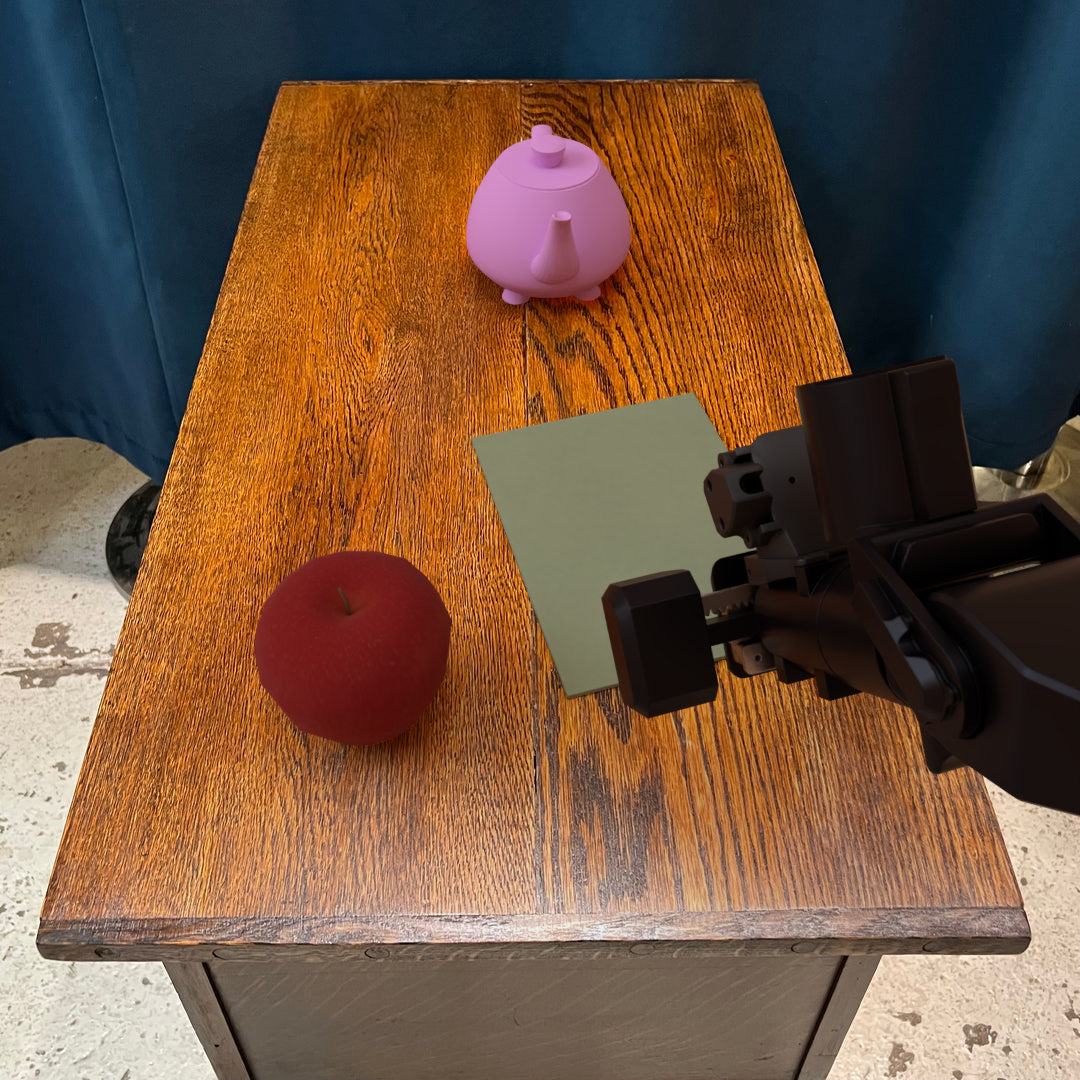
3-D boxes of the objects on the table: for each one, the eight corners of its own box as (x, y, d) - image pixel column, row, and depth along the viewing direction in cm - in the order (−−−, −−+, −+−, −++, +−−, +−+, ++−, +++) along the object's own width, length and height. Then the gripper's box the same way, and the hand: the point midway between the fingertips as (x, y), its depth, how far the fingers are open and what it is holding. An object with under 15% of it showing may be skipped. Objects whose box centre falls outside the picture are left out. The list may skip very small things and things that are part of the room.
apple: (303, 812, 61) (262, 701, 52) (261, 669, 68) (218, 548, 59) (484, 747, 64) (474, 631, 55) (427, 615, 71) (410, 492, 62)
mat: (832, 631, 70) (833, 627, 69) (567, 699, 66) (567, 696, 66) (692, 395, 85) (693, 391, 84) (471, 441, 81) (471, 437, 81)
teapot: (645, 346, 89) (657, 212, 79) (473, 355, 88) (465, 221, 79) (614, 212, 102) (621, 83, 92) (464, 220, 101) (456, 91, 92)
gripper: (1046, 385, 45) (863, 414, 60) (626, 478, 41) (544, 483, 57) (1091, 643, 46) (898, 607, 61) (683, 754, 42) (587, 687, 58)
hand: (736, 592), depth 59 cm, fingers closed
